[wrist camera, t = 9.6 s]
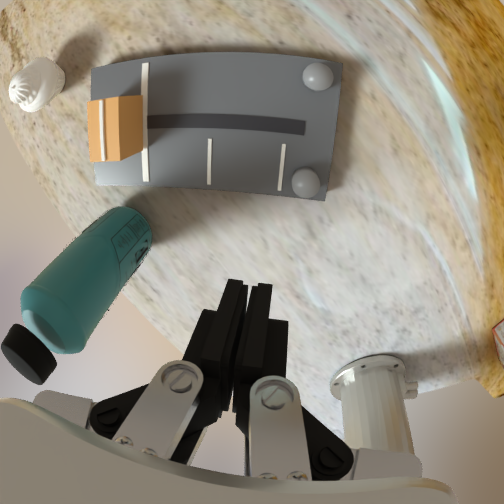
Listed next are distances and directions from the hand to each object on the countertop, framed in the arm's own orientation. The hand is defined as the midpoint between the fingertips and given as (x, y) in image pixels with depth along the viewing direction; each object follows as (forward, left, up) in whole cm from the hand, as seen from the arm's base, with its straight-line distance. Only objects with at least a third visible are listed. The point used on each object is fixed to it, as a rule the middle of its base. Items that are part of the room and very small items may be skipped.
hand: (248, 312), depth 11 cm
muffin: (+24, -12, -17) cm, 32 cm away
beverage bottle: (+14, +6, -17) cm, 23 cm away
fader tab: (+12, -6, -14) cm, 20 cm away
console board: (+6, -6, -17) cm, 19 cm away
